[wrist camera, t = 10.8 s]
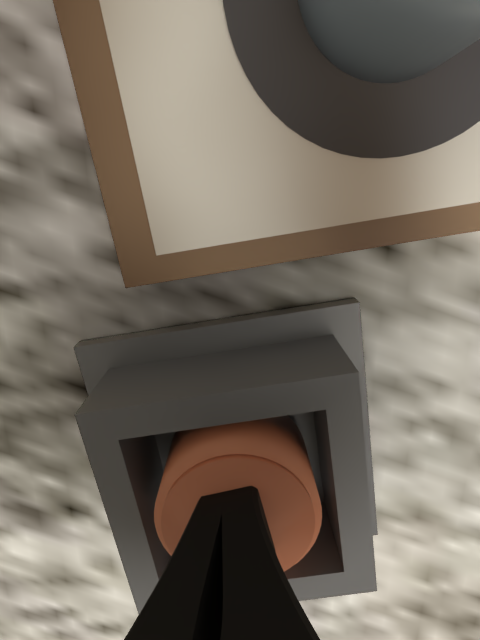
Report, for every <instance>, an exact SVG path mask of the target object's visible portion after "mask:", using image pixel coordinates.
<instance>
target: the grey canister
mask: <svg viewBox="0 0 480 640" xmlns="http://www.w3.org/2000/svg"><path fill="white" fill-rule="evenodd" d="M298 4H299V8H300V12H301V15H302V19H303V21H304V24H305V26H306V28H307V31H308V33H309V35H310V36H311V38H312V40H313V42H314V43H315V45H316V46H317V48H318V49H319V50H320V51H321V53H322V54H323V55H324V56H325V57H326V58H327V59H328V60H329V61H330V62H331V63H332V64H333V65H335V66H336V67H337V68H339V69H340V70H341V71H343V72H345V73H347V74H349V75H350V76H352V77H355V78H358V79H361V80H363V81H368V82H373V83H397V82H403V81H406V80H410V79H414V78H416V77H418V76H421V75H423V74H425V73H427V72H429V71H431V70H433V69H434V68H436V67H438V66H439V65H441V64H442V63H444V62H445V61H447V60H448V59H450V58H451V57H453V56H454V55H456V54H457V53H459V52H460V51H462V50H463V49H465V48H467V47H468V46H470V45H471V44H473V43H474V42H476V41H477V40H479V39H480V0H298Z"/></svg>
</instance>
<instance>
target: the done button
mask: <svg viewBox="0 0 480 640" xmlns="http://www.w3.org/2000/svg"><path fill="white" fill-rule="evenodd" d="M247 486H254V487H256V488H257V489H258V491H259V495H260V498H261V502H262V505H263V509H264V512H265V516H266V519H267V523H268V526H269V529H270V533H271V536H272V540H273V543H274V547H275V550H276V555H277V557H278V560H279V562H280V564H281V566H282V569H283V571H286V570H288V569H289V568H291V567H292V566H294V565H295V564H297V563H298V562H299V561H300V560H301V559H302V558H303V557H304V556H305V555H306V554H307V553H308V552H309V550H310V549H311V547H312V546H313V544H314V543H315V541H316V539H317V536H318V534H319V531H320V527H321V522H322V506H321V501H320V497H319V493H318V490H317V486H316V482H315V479H314V475H313V471H312V468H311V464H310V460H309V457H308V453H307V449H306V446H305V442H304V439H303V436H302V434H301V432H300V430H299V428H298V427H297V425H296V424H295V423H294V421H293V420H292V419H291V418H290V417H289V416H288V415H286V416H280V417H273V418H266V419H259V420H252V421H245V422H239V423H232V424H225V425H218V426H211V427H204V428H198V429H191V430H184V431H177V432H175V434H174V437H173V439H172V443H171V446H170V450H169V454H168V457H167V461H166V465H165V468H164V472H163V476H162V480H161V483H160V487H159V491H158V494H157V498H156V502H155V508H154V522H155V528H156V531H157V534H158V537H159V539H160V541H161V543H162V545H163V547H164V548H165V549H166V551H167V552H168V553H169V554H170V555H171V556H172V554H173V552H174V550H175V548H176V546H177V544H178V542H179V540H180V538H181V536H182V534H183V532H184V530H185V528H186V526H187V524H188V521H189V519H190V517H191V515H192V513H193V511H194V509H195V506H196V504H197V502H198V500H199V499H200V497H201V496H206V495H210V494H215V493H220V492H224V491H229V490H233V489H238V488H242V487H247Z"/></svg>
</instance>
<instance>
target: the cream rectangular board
mask: <svg viewBox="0 0 480 640" xmlns="http://www.w3.org/2000/svg"><path fill="white" fill-rule="evenodd" d="M53 3H54V7H55V11H56V15H57V19H58V23H59V27H60V31H61V35H62V38H63V42H64V46H65V50H66V54H67V58H68V62H69V66H70V70H71V74H72V78H73V82H74V86H75V90H76V94H77V98H78V102H79V106H80V110H81V114H82V118H83V122H84V126H85V130H86V134H87V138H88V141H89V145H90V149H91V153H92V157H93V161H94V165H95V169H96V173H97V177H98V181H99V185H100V189H101V193H102V197H103V201H104V205H105V209H106V213H107V217H108V221H109V225H110V229H111V233H112V237H113V241H114V244H115V248H116V252H117V256H118V260H119V264H120V268H121V272H122V276H123V280H124V284H125V288H129V287H135V286H141V285H148V284H154V283H160V282H166V281H172V280H178V279H184V278H191V277H197V276H203V275H209V274H215V273H221V272H228V271H234V270H240V269H246V268H252V267H258V266H264V265H271V264H277V263H283V262H289V261H295V260H301V259H307V258H314V257H320V256H326V255H332V254H338V253H344V252H350V251H357V250H363V249H369V248H375V247H381V246H387V245H393V244H400V243H406V242H412V241H418V240H424V239H430V238H437V237H443V236H449V235H455V234H461V233H467V232H473V231H480V39H479V40H477V41H476V42H474V43H473V44H471V45H470V46H468V47H467V48H465V49H463V50H462V51H460V52H459V53H457V54H456V55H454V56H453V57H451V58H450V59H448V60H447V61H445V62H444V63H442V64H441V65H439V66H438V67H436V68H434V69H433V70H431V71H429V72H427V73H425V74H423V75H421V76H418V77H416V78H414V79H410V80H406V81H403V82H397V83H373V82H368V81H363V80H361V79H358V78H355V77H352V76H350V75H349V74H347V73H345V72H343V71H341V70H340V69H339V68H337V67H336V66H335V65H333V64H332V63H331V62H330V61H329V60H328V59H327V58H326V57H325V56H324V55H323V54H322V53H321V51H320V50H319V49H318V48H317V46H316V45H315V43H314V42H313V40H312V38H311V36H310V35H309V33H308V31H307V28H306V26H305V24H304V21H303V19H302V15H301V12H300V8H299V4H298V0H53Z"/></svg>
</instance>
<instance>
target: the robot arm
mask: <svg viewBox="0 0 480 640" xmlns="http://www.w3.org/2000/svg"><path fill="white" fill-rule="evenodd" d="M124 640H320V639H319V637H318V635H317V634H316V632H315V630H314V628H313V627H312V625H311V623H310V621H309V620H308V618H307V616H306V614H305V612H304V610H303V609H302V607H301V605H300V603H299V601H298V599H297V597H296V595H295V593H294V591H293V589H292V587H291V585H290V583H289V581H288V579H287V577H286V575H285V573H284V571H283V569H282V566H281V564H280V562H279V560H278V557H277V555H276V550H275V547H274V543H273V540H272V536H271V533H270V529H269V526H268V523H267V519H266V516H265V512H264V509H263V505H262V502H261V498H260V495H259V491H258V489H257V488H256V487H254V486H247V487H242V488H238V489H233V490H229V491H224V492H220V493H215V494H210V495H206V496H201V497H200V499H199V500H198V502H197V504H196V506H195V509H194V511H193V513H192V515H191V517H190V519H189V521H188V524H187V526H186V528H185V530H184V532H183V534H182V536H181V538H180V540H179V542H178V544H177V546H176V548H175V550H174V552H173V554H172V556H171V558H170V560H169V562H168V564H167V565H166V567H165V569H164V571H163V573H162V575H161V577H160V579H159V581H158V583H157V584H156V586H155V588H154V590H153V591H152V593H151V595H150V597H149V598H148V600H147V602H146V603H145V605H144V607H143V609H142V610H141V612H140V614H139V616H138V617H137V619H136V621H135V622H134V624H133V626H132V627H131V629H130V631H129V632H128V634H127V636H126V637H125V639H124Z"/></svg>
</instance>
